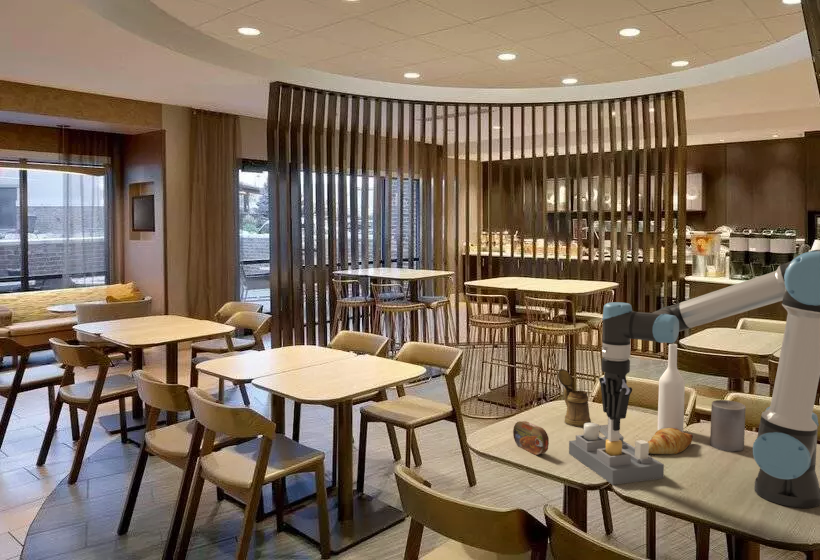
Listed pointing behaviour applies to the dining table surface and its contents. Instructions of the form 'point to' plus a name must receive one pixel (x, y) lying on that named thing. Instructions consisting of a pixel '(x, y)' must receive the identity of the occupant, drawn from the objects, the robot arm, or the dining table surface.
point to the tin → (531, 437)
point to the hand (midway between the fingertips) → (613, 440)
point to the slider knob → (641, 449)
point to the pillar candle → (727, 425)
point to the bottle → (671, 394)
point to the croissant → (669, 441)
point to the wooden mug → (574, 402)
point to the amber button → (613, 447)
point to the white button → (591, 431)
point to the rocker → (604, 431)
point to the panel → (615, 461)
